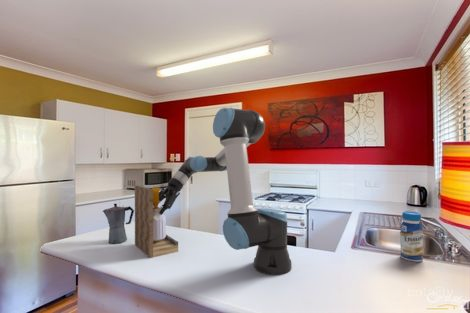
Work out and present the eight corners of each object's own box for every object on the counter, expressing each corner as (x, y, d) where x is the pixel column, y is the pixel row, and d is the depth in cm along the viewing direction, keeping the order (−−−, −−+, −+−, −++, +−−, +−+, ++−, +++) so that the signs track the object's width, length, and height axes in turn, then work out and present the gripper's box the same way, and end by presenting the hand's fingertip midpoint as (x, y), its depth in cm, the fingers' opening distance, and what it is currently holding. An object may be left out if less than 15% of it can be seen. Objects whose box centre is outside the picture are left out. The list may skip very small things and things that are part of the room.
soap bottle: (167, 235, 135) (167, 186, 135) (163, 240, 126) (162, 188, 126) (149, 235, 135) (149, 186, 135) (144, 241, 126) (143, 189, 126)
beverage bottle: (418, 255, 119) (418, 211, 119) (426, 263, 111) (426, 215, 111) (397, 254, 122) (397, 210, 121) (403, 261, 113) (403, 214, 113)
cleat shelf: (178, 251, 126) (178, 187, 125) (149, 258, 118) (149, 190, 117) (160, 239, 143) (160, 183, 143) (134, 244, 135) (134, 185, 135)
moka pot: (104, 239, 143) (103, 202, 143) (134, 237, 148) (134, 201, 148) (100, 245, 134) (100, 205, 134) (133, 242, 139) (133, 204, 139)
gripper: (194, 188, 134) (166, 226, 123) (170, 184, 149) (144, 218, 137) (185, 178, 130) (156, 216, 119) (162, 176, 145) (134, 210, 133)
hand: (149, 217), depth 128 cm, fingers closed on soap bottle, 8 cm apart
